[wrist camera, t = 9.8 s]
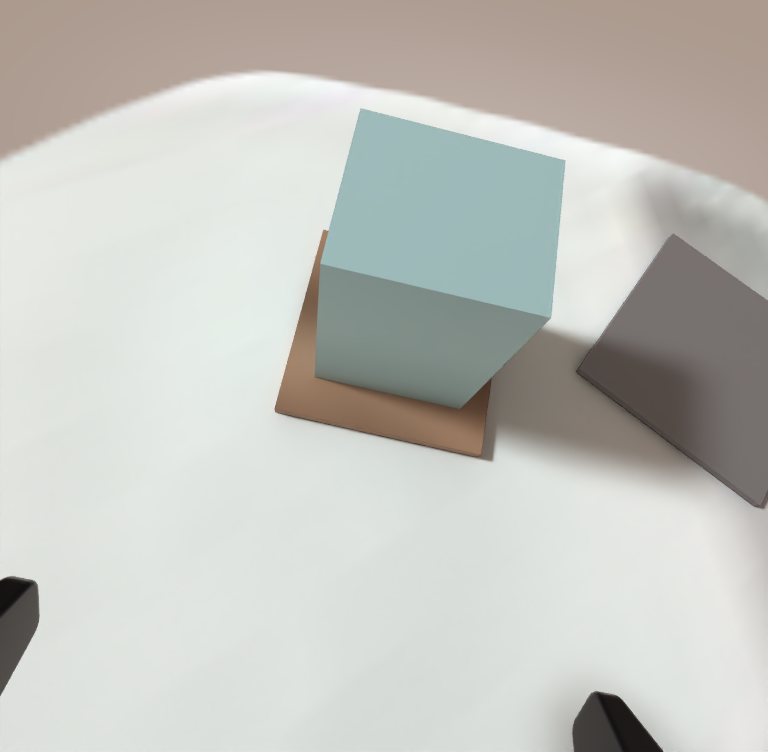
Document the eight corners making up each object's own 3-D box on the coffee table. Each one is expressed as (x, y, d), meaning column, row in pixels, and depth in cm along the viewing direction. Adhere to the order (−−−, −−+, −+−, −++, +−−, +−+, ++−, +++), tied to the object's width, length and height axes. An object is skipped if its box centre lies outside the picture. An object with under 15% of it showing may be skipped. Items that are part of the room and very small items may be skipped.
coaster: (477, 457, 24) (481, 454, 24) (275, 412, 24) (274, 408, 23) (501, 280, 27) (505, 274, 27) (323, 236, 27) (323, 229, 26)
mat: (754, 506, 25) (760, 505, 25) (576, 371, 26) (580, 368, 26) (829, 352, 29) (836, 349, 28) (668, 237, 30) (673, 233, 29)
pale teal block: (460, 409, 24) (550, 317, 15) (314, 376, 24) (319, 263, 15) (475, 299, 26) (565, 160, 17) (341, 267, 26) (360, 108, 17)
